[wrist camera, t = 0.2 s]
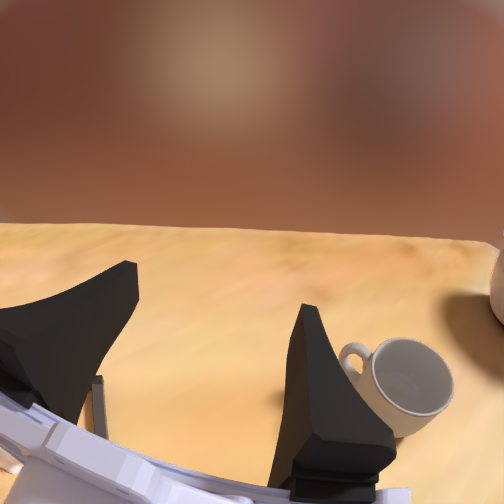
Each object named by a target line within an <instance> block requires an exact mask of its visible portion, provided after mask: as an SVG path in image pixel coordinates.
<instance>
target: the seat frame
mask: <svg viewBox="0 0 504 504" xmlns="http://www.w3.org/2000/svg"><path fill="white" fill-rule="evenodd" d="M89 390H92V399H93V417H94V431H95V435H97V436H99V437H101V438H104V439H106V440H108V441H109V438H108V429H107V420H106V408H105V395H104V380H103V376H102V375H95V377H94V379H93V382H92V384H91V386H90V389H89Z"/></svg>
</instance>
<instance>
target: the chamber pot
mask: <svg viewBox="0 0 504 504" xmlns="http://www.w3.org/2000/svg"><path fill="white" fill-rule="evenodd" d="M503 236H504V230H503ZM490 305H491V308H492V311H493V312H494V314H495V316H496V317H497V319H498V320H499V321H500V322H501V323H502V324H503V326H504V249H503V250H501V251H500V252H499V254H498V256H497V258H496V260H495V263H494V266H493V270H492V273H491V277H490Z"/></svg>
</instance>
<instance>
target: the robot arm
mask: <svg viewBox="0 0 504 504" xmlns="http://www.w3.org/2000/svg"><path fill="white" fill-rule="evenodd" d="M138 301H139V288H138V272H137V263H133V262H130V261H126V260H125V261H123V262H121V263H119V264H117V265H115V266H113V267H111V268H109V269H107V270H106V271H104V272H102V273H100V274H98V275H96V276H95V277H93V278H91V279H89V280H87V281H85V282H83V283H81V284H79V285H77V286H75V287H73V288H71V289H69V290H66V291H64V292H62V293H59V294H57V295H54V296H51V297H49V298H46V299H42V300H39V301H36V302H33V303H29V304H25V305H20V306H15V307H10V308H2V309H0V447H1V448H2V449H3V450H4V451H6V452H7V453H8V454H10V455H11V456H12V457H14V458H15V459H16V460H18V461H19V462H20V463H22V464H23V465H24V466H23V467H22V469H21V471H20V473H19V475H18V477H17V479H16V480H15V482H14V484H13V486H12V488H11V490H10V492H9V494H8V496H7V498H6V500H5V502H4V504H411V490H410V488H387V489H380V490H376V491H375V483H378V481H379V472H380V471H382V470H383V469H384V468H386V467H387V466H388V465H389V464H391V463H392V462H393V460H394V459H395V458H396V455H397V452H396V442H395V437H394V433H393V430H392V429H391V428H390V427H389V426H388V425H387V424H386V423H385V422H384V421H383V420H382V419H381V418H380V417H379V416H378V415H377V414H376V413H375V412H374V411H373V410H372V409H371V408H370V407H369V406H368V404H367V403H366V402H365V401H364V399H363V398H362V397H361V396H360V394H359V393H358V392H357V390H356V389H355V388H354V386H353V385H352V383H351V382H350V380H349V379H348V377H347V375H346V374H345V372H344V370H343V368H342V367H341V365H340V363H339V361H338V359H337V357H336V355H335V353H334V351H333V349H332V346H331V344H330V342H329V339H328V337H327V334H326V332H325V329H324V326H323V324H322V321H321V318H320V314H319V311H318V308H317V307H316V306H312V305H307V304H302V305H301V308H300V311H299V314H298V317H297V320H296V323H295V326H294V329H293V331H292V334H291V337H290V343H289V348H288V354H287V363H286V381H285V398H284V409H283V415H282V421H281V426H280V432H279V437H278V442H277V446H276V451H275V456H274V460H273V464H272V469H271V473H270V477H269V481H268V485H267V487H264V486H258V485H253V484H248V483H242V482H238V481H233V480H228V479H224V478H220V477H216V476H212V475H208V474H204V473H200V472H196V471H193V470H189V469H186V468H182V467H179V466H176V465H173V464H170V463H166V462H163V461H160V460H158V459H155V458H152V457H149V456H146V455H143V454H141V453H138V452H135V451H133V450H130V449H128V448H125V447H123V446H120V445H118V444H115V443H113V442H111V441H108V440H106V439H104V438H101V437H99V436H97V435H95V434H93V433H90V432H88V431H86V430H84V429H82V428H80V427H78V426H77V422H78V419H79V416H80V413H81V410H82V407H83V404H84V401H85V399H86V396H87V394H88V391H89V389H90V386H91V384H92V382H93V379H94V377H95V375H96V373H97V371H98V369H99V367H100V364H101V362H102V360H103V359H104V357H105V355H106V354H107V352H108V350H109V349H110V347H111V346H112V344H113V343H114V341H115V340H116V338H117V337H118V335H119V334H120V332H121V331H122V329H123V328H124V326H125V325H126V323H127V322H128V320H129V319H130V317H131V315H132V313H133V312H134V310H135V307H136V305H137V303H138Z"/></svg>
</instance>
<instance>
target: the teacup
mask: <svg viewBox="0 0 504 504" xmlns="http://www.w3.org/2000/svg"><path fill="white" fill-rule="evenodd" d="M349 354H357V355H358V356H360V357H361V358H362V360H363V372H362V374H359V373H358V372H357V371H356V370H355V369H354V368H353V366H352V365H351V363H350V362H349V359H348V355H349ZM339 363H340V365H341V367H342V368H343V370H344V372H345V374H346V375H347V377H348V379H349V380H350V381H351V383H352V385H353V386H354V388H355V389H356V390H357V392H358V393H359V394H360V396H361V397H362V398H363V399H364V401H365V402H366V403H367V404H368V406H369V407H370V408H371V409H372V410H373V411H374V412H375V413H376V414H377V415H378V416H379V417H380V418H381V419H382V420H383V421H384V422H385V423H386V424H387V425H388V426H389V427H390V428H391V429H392V430H393V433H394V437H395V438H400V437H405V436H409V435H411V434H414V433H416V432H417V431H419V430H420V429H422V428H423V427H424V426H425V425H427V424H428V423H429V422H430V421H431V420H432V419H433V418H435V417H436V416H437V415H438V414H439V413H440V412H442V411H443V410H444V409H445V408H446V407H447V406H448V405H449V403H450V402H451V400H452V398H453V395H454V380H453V375H452V373H451V370H450V368H449V366H448V365H447V363H446V362H445V361H444V359H443V358H442V357H441V356H440V355H439V354H438V353H437V352H436V351H435V350H434V349H432V348H431V347H429V346H428V345H426V344H424V343H422V342H420V341H417V340H414V339H411V338H405V337H397V338H391V339H388V340H386V341H384V342H383V343H382V344H380V345H379V346H378V348H377V349H376V350H375V352H374V353H373V354H372V352H371V351H370V350H369V348H368V347H367V346H365V345H363V344H361V343H357V342H353V343H349V344H347V345H346V346H344V347H343V349H342V350H341V352H340V354H339Z"/></svg>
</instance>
